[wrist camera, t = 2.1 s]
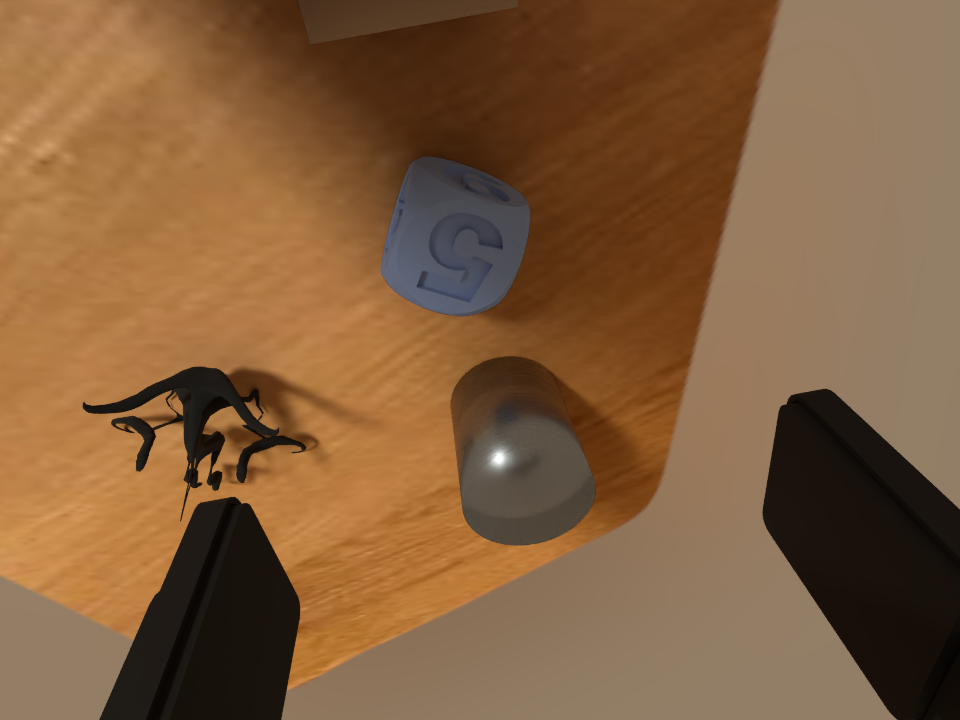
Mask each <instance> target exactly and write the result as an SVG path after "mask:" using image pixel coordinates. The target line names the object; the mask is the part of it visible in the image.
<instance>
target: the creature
mask: <svg viewBox="0 0 960 720" xmlns="http://www.w3.org/2000/svg"><path fill="white" fill-rule="evenodd" d="M170 390H172V392H171V394H170V395H169V396H168V397H167V398H166V402H167V404H168V406H169V407H170V405H169V403H168V401H167V400H168V398H169V397H170V396H172V395H173V394H174V392H176V393H177V395H178V397H179V400H180V401H181V402H182V404H183V416H181V415H180V414H178V413H177V412H176V411H174V410H173V409H172V408H171V407H170V408H171V409H172V410H173V411H174V412H176V413H177V418H176V419H174V420H173V421H170V422H168V423H165V424H162V425H159V426H156V427H154V428H152V427H151V426H150V425H149V424H148V423H146V422H145V421H143V420H142V419H140V418H137V417H135V416H129V417H123V418H116V419H113V420H112V422H111V424H112V426H114V427H115V428H117V429H120V430H123V431H126V432H129V433H134V432H131V431H128V430H124V429H121V428H119V427H117V426H116V424H115V423H121V424H127V425H129V426H131V427H132V428H133V429H135V430H136V431H137V432H138V433H139V434H141V435H142V436H143V438H144V443H143V445H142V447H141V449H140V451H139V453H138V455H137V460H136V471H141V470H142V469H143V468H144V466H145V464H146V462H147V459H148V456H149V452H150V450H151V447H152V445H153V442H154V440H155V438H156V435H155V432H154V430H156V429H158V428H160V427H163V426H165V425H168V424H171V423H175V422H179V421H183V420H184V444H185V448H186V450H187V453H188V455H187V460H188V467H187V471H186V475H185V477H184V481H185V482H187V483H188V486H189V483H190V486H191V487H192V488H197V487H199V486H201V485H202V483H200V482H199V483H197V481H198V471H197V470H196V469H197V466H198V464H199V462H200V461H201V460H202V459H203V458H204V457H205V456H207V455H208V454H210V453H212V456H211V468H210V473H209V476H208V479H207V484H208V485H210V486H211V485H212V489H213V490H215V491H216V490H218V489H219V486H220V483H221V480H222V472H220V471H216V472H214V473H213V474H212V468H213V466H214V464H215V463H216V461H217V458H218V456H219V454H220V452H221V449H222V447H223V444H224V442H225V438H224V435H222V434H221V433H220V432H219V431H216V432H215V433H213V434H212V435H207V434H202V433H203V430H204V427H205V424H206V423H207V421H208V419H209V417H210V416H211V415H212V414H214V413H216V412H217V411H219V410H220V409H223V408H226V407H229V406H233V407H234V409H235V410H236V411H237V413H238V414H239V416H240V417H241V418H242V419H243V420H244V421H245V423H246V424H247V425H242V426H243V427H244V428H246V429H248V430H250V431H252V432H253V433H255V434H257V435H259V436H260V437H262V438H263V439H261V440H259V441H256V442H254V443H253V444H251V445H250V446H248V447H246V448H244V449H243V451H242V453H241V455H240V458H239V463H238V465H237V473H236V476H237V480H238V481H239V482H240V483H244V481H245V479H246V474H247V465H248V462H249V459H250V457H251V455H252V454H253V453H257V452H260V451H262V450H265V449H268V448H271V447H274V446H276V445H296V446H299V447H301V449H302V451H299V452H303V451H305V449H306V446H305V445H304V444H302V443H301V442H298V441H296V440H293V439H291V438H288V437H286V436H276V435H277V434H278V433H279V428H278V429H277V430H273V429H270V428H268V427H266V426H265V425H263V424H262V423H260V422H259V421H258V420H259V419H260V418H261V417H262V415H263V413H264V412H263V411H262V409H261V408H260V406H259V391H258V389H255V390H253V391H252V392H251V393H250V395H249V396H248V397H241V396H240V395H239V394H238V392H237V391H236V389H235V388H234V386H233V385H232V383H231V381H230V379H229V378H228V377H227V376H226V375H225V374H224V373H223V372H222V371H221V370H219V369H217V368H206V367H192V368H189V369H185V370H183V371H181V372H179V373H177V374H175V375H174V376H172V377H169V378H167V379H165V380H162V381H160V382H158V383H155V384H153V385H151V386H149V387H147V388H146V389H144V390H142V391H141V392H139V393H138V394H136V395H134V396H131V397H129V398H126V399H124V400H122V401H119V402H115V403H111V404H106V405H96V406H91V405H86V404H85V402H83V409H84V410H85V411H86V412H88V413H94V414H108V413H120V412H126V411H129V410H132V409H135V408H137V407H139V406H142V405H143V404H145V403H147V402H148V401H150V400H152V399H153V398H155V397H157V396H159V395H161V394H163V393H165V392H168V391H170ZM254 397H255V400H256V406H257V407H258V408H259V410H260V411H261V413H262V415H261V416H260V418H259V419H258V420H257V419H256V418H255V417H254V416H253V415H252V413H251V412H250V410H249V409H248V407H247V406H246V404H245V403H244V402H251V401H252V400H253V398H254ZM255 430H256V431H258V432H260V433H262V434H264V435H268V436H272V437H268V438H265V437H264V436H262V435H261V434H259V433H257V432H256V431H255ZM299 452H292V453H299ZM195 459H196V463H195ZM190 463H191V469H189V466H190ZM194 463H195V468H194ZM188 486H187V490H186V495H185V500H184V505H183V509H182V514H181V519H182V515H183V511H184V507H185V503H186V499H187V496H188V492H189V489H190V486H189V489H188ZM187 491H188V492H187ZM181 519H180V521H181Z"/></svg>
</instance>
